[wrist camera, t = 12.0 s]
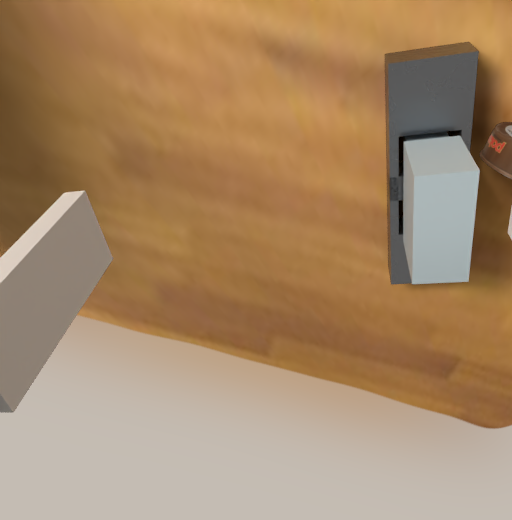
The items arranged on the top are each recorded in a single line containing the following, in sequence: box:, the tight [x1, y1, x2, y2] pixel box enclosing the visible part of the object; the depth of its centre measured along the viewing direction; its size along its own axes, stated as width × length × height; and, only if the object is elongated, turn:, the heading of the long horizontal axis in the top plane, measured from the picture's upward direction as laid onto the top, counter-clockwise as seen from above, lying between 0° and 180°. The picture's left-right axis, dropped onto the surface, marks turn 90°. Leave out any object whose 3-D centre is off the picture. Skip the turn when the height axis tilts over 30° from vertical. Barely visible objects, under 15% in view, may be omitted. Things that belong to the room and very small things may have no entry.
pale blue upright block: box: [403, 131, 480, 284], centre depth 37 cm, size 4×9×10 cm, turn 10°
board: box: [385, 42, 479, 284], centre depth 40 cm, size 6×20×3 cm, turn 10°
